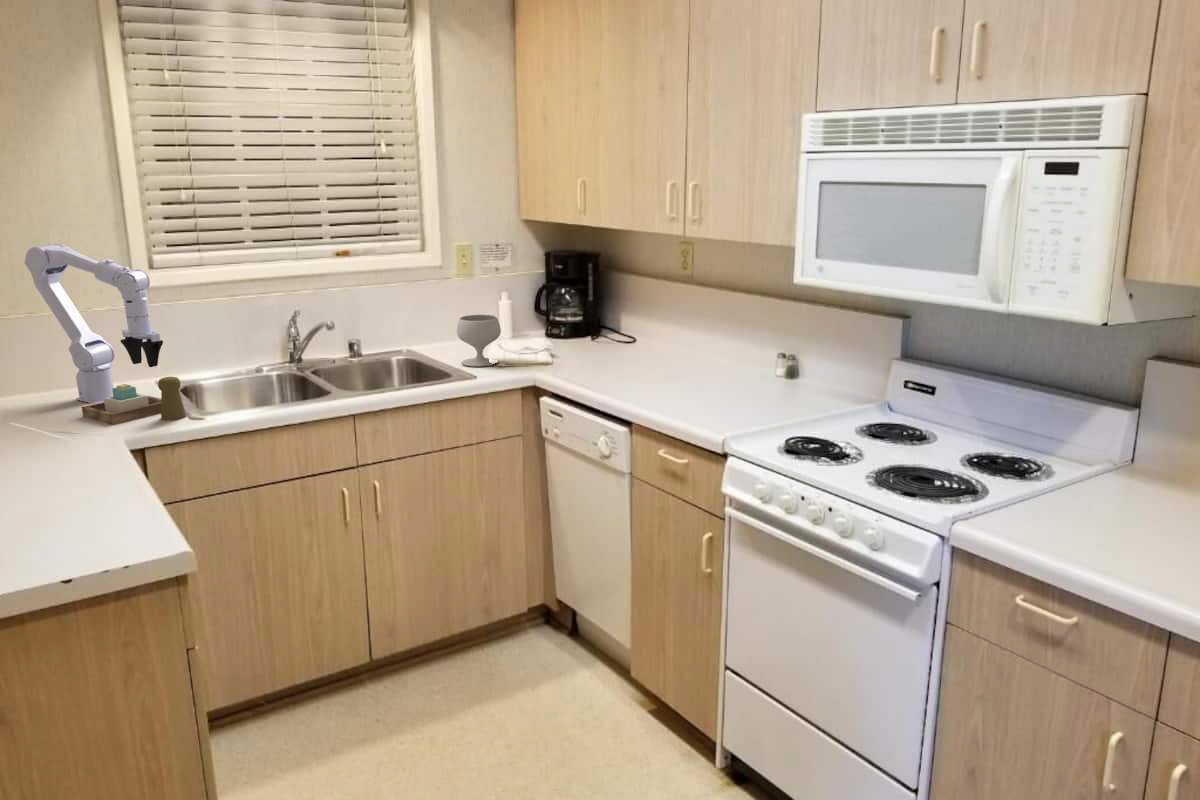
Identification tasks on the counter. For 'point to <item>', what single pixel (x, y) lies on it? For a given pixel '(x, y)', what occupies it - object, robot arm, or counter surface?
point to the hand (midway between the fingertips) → (145, 364)
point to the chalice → (478, 335)
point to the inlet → (125, 403)
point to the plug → (124, 392)
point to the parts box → (122, 412)
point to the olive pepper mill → (171, 399)
